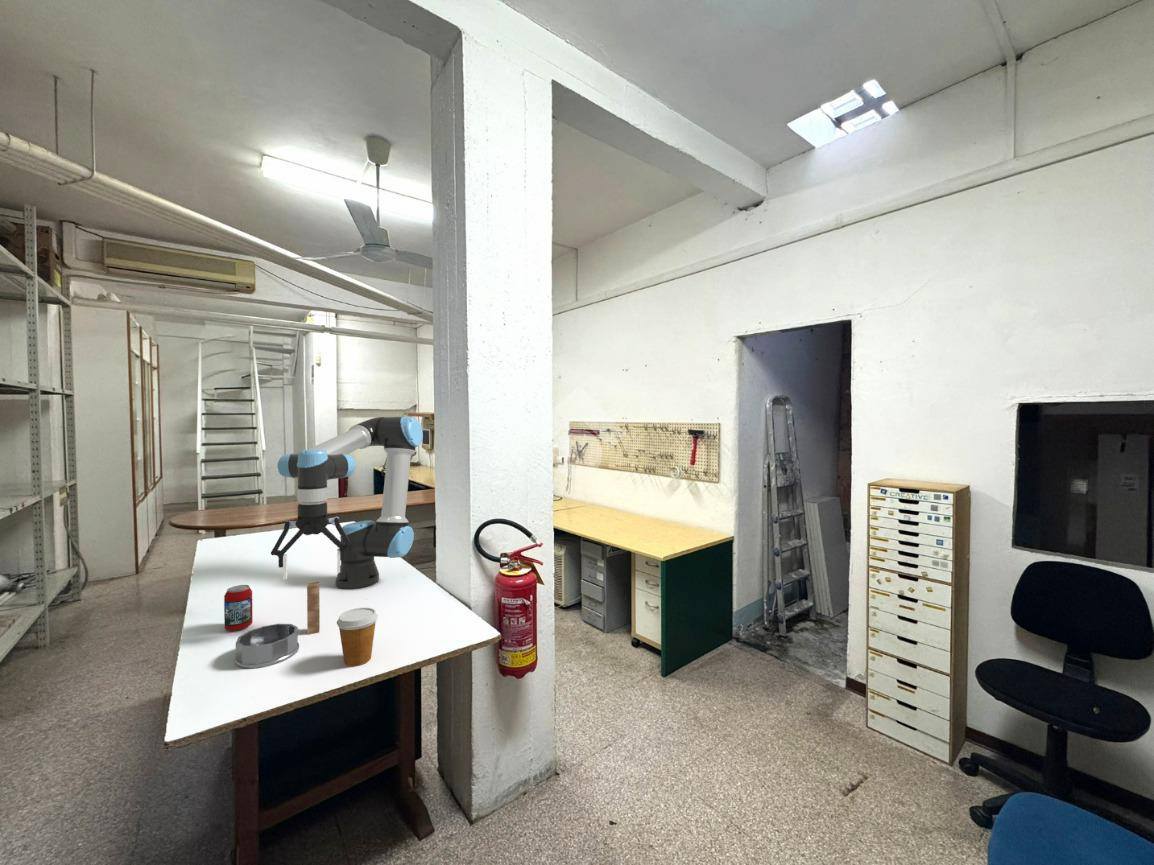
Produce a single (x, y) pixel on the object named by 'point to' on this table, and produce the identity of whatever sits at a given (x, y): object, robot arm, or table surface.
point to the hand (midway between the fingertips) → (312, 574)
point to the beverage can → (238, 608)
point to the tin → (266, 646)
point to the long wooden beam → (313, 608)
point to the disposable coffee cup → (357, 635)
